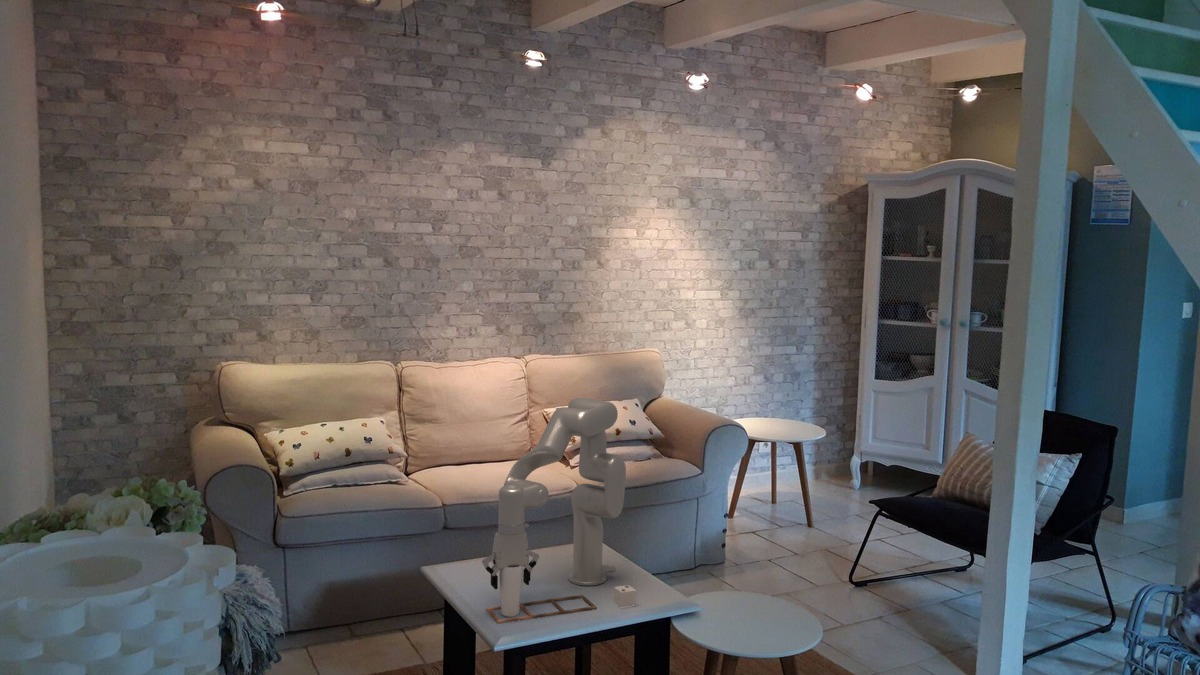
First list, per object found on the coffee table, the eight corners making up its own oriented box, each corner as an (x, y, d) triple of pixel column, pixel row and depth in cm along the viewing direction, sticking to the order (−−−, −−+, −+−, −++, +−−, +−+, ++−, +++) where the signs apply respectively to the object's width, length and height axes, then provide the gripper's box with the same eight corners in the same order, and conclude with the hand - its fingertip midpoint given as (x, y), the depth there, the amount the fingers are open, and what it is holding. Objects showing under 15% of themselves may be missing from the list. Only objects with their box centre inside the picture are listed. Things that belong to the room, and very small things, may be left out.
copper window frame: (582, 596, 282) (582, 594, 282) (596, 609, 272) (596, 607, 272) (486, 610, 269) (486, 608, 269) (497, 623, 259) (497, 621, 259)
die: (628, 600, 280) (628, 584, 279) (635, 606, 275) (636, 589, 275) (613, 602, 278) (614, 586, 277) (620, 608, 273) (621, 592, 273)
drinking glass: (498, 609, 270) (499, 560, 269) (521, 609, 270) (522, 560, 269) (498, 618, 263) (499, 567, 262) (521, 618, 264) (522, 567, 262)
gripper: (534, 522, 272) (533, 577, 273) (478, 527, 264) (478, 585, 266) (543, 529, 265) (542, 586, 266) (486, 535, 258) (485, 593, 259)
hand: (510, 585), depth 266 cm, fingers open, 9 cm apart
